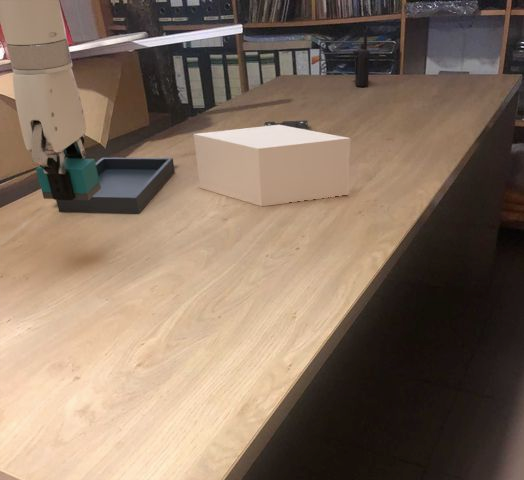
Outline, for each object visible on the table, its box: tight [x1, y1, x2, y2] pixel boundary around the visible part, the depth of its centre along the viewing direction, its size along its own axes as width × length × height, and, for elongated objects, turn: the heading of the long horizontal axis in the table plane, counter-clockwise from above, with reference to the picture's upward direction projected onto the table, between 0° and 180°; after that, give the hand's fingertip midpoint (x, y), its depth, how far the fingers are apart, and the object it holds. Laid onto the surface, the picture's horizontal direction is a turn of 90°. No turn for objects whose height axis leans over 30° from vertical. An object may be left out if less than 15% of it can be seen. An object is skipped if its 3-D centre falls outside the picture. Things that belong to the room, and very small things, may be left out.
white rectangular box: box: [193, 125, 351, 207], centre depth 109 cm, size 14×29×10 cm, turn 75°
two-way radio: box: [352, 29, 371, 88], centre depth 174 cm, size 6×4×15 cm
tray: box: [55, 157, 176, 215], centre depth 116 cm, size 22×16×3 cm
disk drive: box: [263, 120, 309, 130], centre depth 136 cm, size 10×3×15 cm
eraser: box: [35, 157, 101, 200], centre depth 86 cm, size 7×4×4 cm, turn 80°
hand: (72, 191), depth 87 cm, fingers closed on eraser, 4 cm apart
